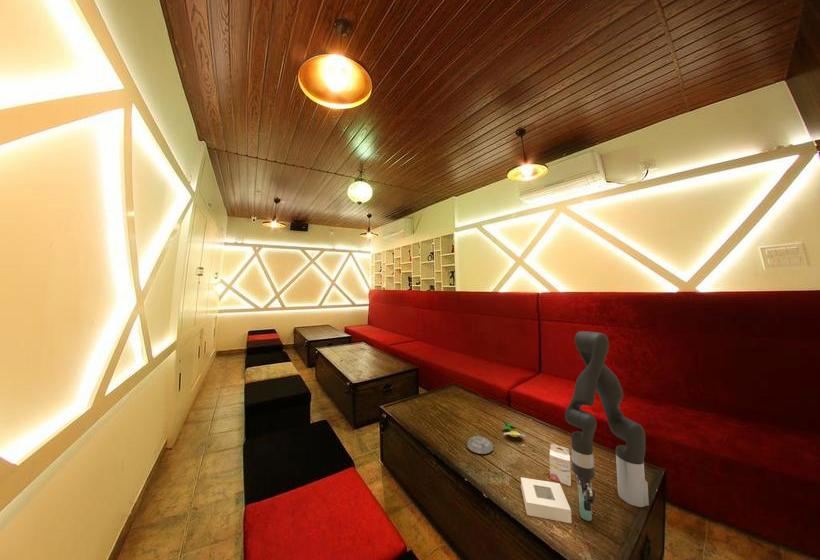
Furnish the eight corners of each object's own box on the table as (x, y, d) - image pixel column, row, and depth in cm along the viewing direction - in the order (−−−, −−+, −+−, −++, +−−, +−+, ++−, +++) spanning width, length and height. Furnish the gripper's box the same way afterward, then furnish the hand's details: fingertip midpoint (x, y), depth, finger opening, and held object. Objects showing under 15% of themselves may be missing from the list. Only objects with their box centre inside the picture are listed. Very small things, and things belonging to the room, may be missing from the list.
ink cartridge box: (550, 479, 121) (548, 448, 121) (550, 473, 125) (549, 442, 126) (571, 486, 116) (569, 453, 117) (571, 479, 121) (569, 448, 121)
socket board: (560, 495, 112) (559, 483, 112) (571, 523, 98) (571, 509, 99) (521, 488, 116) (520, 477, 116) (526, 515, 102) (526, 501, 103)
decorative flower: (494, 422, 177) (506, 442, 148) (494, 415, 178) (506, 433, 149) (513, 424, 176) (529, 444, 146) (513, 417, 177) (528, 435, 147)
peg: (589, 512, 102) (587, 482, 102) (594, 521, 98) (592, 490, 98) (577, 510, 103) (576, 480, 103) (582, 519, 99) (580, 488, 100)
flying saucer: (495, 457, 138) (494, 447, 138) (466, 454, 141) (466, 444, 141) (491, 441, 152) (491, 432, 153) (466, 439, 155) (466, 430, 156)
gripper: (602, 475, 94) (604, 523, 93) (585, 451, 107) (588, 492, 107) (579, 472, 95) (581, 519, 95) (566, 448, 109) (568, 489, 109)
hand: (585, 505), depth 101 cm, fingers closed on peg, 4 cm apart
